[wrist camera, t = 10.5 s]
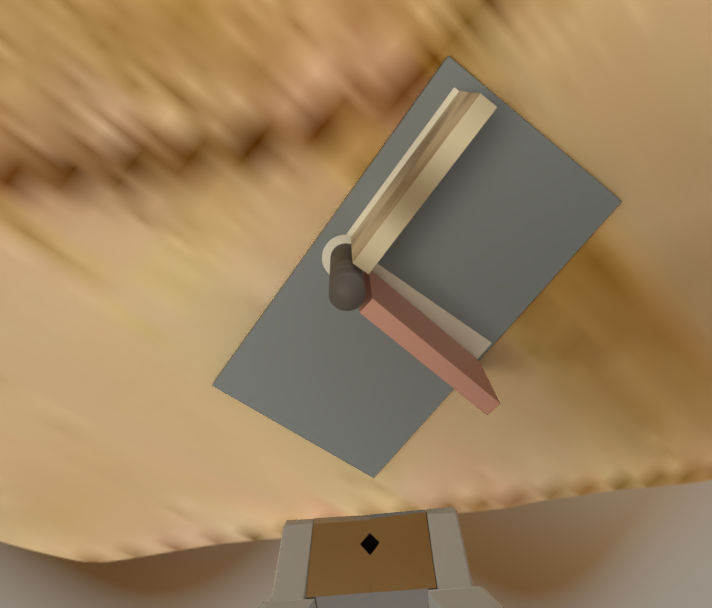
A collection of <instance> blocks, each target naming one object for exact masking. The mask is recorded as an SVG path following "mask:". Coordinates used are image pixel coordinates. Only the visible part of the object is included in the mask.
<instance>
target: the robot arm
mask: <svg viewBox="0 0 712 608" xmlns="http://www.w3.org/2000/svg"><path fill="white" fill-rule="evenodd" d="M258 608H504V607H502V606H501V605H500V604H499V603H498V602H497V601H496V600H495V599H494V598H493V597H492V596H491V595H490V594H489V593H488V592H487V591H486V590H485V589H484V588H483V587H482V586H480V587H473V584H472V580H471V575H470V571H469V566H468V561H467V557H466V552H465V547H464V543H463V538H462V534H461V530H460V525H459V520H458V516H457V511H456V509H455V508H454V507H447V508H437V509H426V512H425V510H417V511H406V512H395V513H384V514H373V515H364V516H346V517H328V518H315V519H304V520H287V521H286V523H285V525H284V527H283V532H282V538H281V544H280V551H279V556H278V563H277V568H276V574H275V581H274V586H273V592H272V598H271V602H263V603H261V605H260V606H259V607H258Z"/></svg>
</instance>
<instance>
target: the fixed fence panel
mask: <svg viewBox="0 0 712 608" xmlns="http://www.w3.org/2000/svg"><path fill="white" fill-rule="evenodd" d="M496 108H497V107H496V106H495V105H494V104H493V103H492V102H490V101H489V100H488V99H487V98H486V97H484V96H483V95H482V94H481V93H473V92H464V91H458V93H457V94H456V95H455V97H454V98H453V99H452V101H451V102H450V103H449V105H448V106H447V108H446V109H445V110H444V112H443V113H442V114H441V116H440V117H439V118H438V120H437V121H436V122H435V124H434V125H433V126H432V128H431V129H430V131H429V132H428V133H427V135H426V136H425V137H424V139H423V140H422V141H421V143H420V144H419V145H418V147H417V148H416V149H415V151H414V152H413V154H412V155H411V156H410V158H409V159H408V160H407V162H406V163H405V164H404V166H403V167H402V168H401V170H400V171H399V172H398V174H397V175H396V177H395V178H394V179H393V181H392V182H391V183H390V185H389V186H388V187H387V189H386V190H385V191H384V193H383V194H382V195H381V197H380V198H379V200H378V201H377V202H376V204H375V205H374V206H373V208H372V209H371V210H370V212H369V213H368V214H367V216H366V217H365V219H364V220H363V221H362V223H361V224H360V225H359V227H358V228H357V229H356V231H355V232H354V233H353V235H352V236H351V244H348V243H344V244H340V245H338V246H336V247H335V248H334V249H333V251H332V253H331V256H330V276H329V299H330V302H331V303H332V305H333V306H334V307H336V308H337V309H339V310H342V311H352V310H355V309H357V308H358V307H359V306H361V304H362V303H363V301H364V299H365V286H364V278H363V271H365V272H366V273H367V274H369V273H370V272H371V271H372V269H373V268H374V267H375V265H376V264H377V263H378V262H379V260H380V259H381V258H382V256H383V255H384V254H385V252H386V251H387V250H388V249H389V247H390V246H391V245H392V243H393V242H394V241H395V239H396V238H397V237H398V236H399V234H400V233H401V232H402V230H403V229H404V228H405V226H406V225H407V224H408V223H409V221H410V220H411V219H412V217H413V216H414V215H415V213H416V212H417V211H418V210H419V208H420V207H421V206H422V204H423V203H424V202H425V201H426V199H427V198H428V197H429V195H430V194H431V193H432V191H433V190H434V189H435V188H436V186H437V185H438V184H439V182H440V181H441V180H442V178H443V177H444V176H445V175H446V173H447V172H448V171H449V169H450V168H451V167H452V165H453V164H454V163H455V162H456V160H457V159H458V158H459V156H460V155H461V154H462V152H463V151H464V150H465V149H466V147H467V146H468V145H469V143H470V142H471V141H472V139H473V138H474V137H475V136H476V134H477V133H478V132H479V130H480V129H481V128H482V126H483V125H484V124H485V123H486V121H487V120H488V119H489V117H490V116H491V115H492V113H493V112H494V111H495V110H496Z"/></svg>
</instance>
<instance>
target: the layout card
mask: <svg viewBox="0 0 712 608" xmlns="http://www.w3.org/2000/svg"><path fill="white" fill-rule="evenodd" d="M458 91H464V92H473V93H481V94H482V95H483V96H484V97H486V98H487V99H488V100H489V101H490V102H492V103H493V104H494V105H495V106H496V107H497V108H496V110H495V111H494V112H493V113H492V115H491V116H490V117H489V119H488V120H487V121H486V123H485V124H484V125H483V126H482V128H481V129H480V130H479V132H478V133H477V134H476V136H475V137H474V138H473V139H472V141H471V142H470V143H469V145H468V146H467V147H466V149H465V150H464V151H463V152H462V154H461V155H460V156H459V158H458V159H457V160H456V162H455V163H454V164H453V165H452V167H451V168H450V169H449V171H448V172H447V173H446V175H445V176H444V177H443V178H442V180H441V181H440V182H439V184H438V185H437V186H436V188H435V189H434V190H433V191H432V193H431V194H430V195H429V197H428V198H427V199H426V201H425V202H424V203H423V204H422V206H421V207H420V208H419V210H418V211H417V212H416V213H415V215H414V216H413V217H412V219H411V220H410V221H409V223H408V224H407V225H406V226H405V228H404V229H403V230H402V232H401V233H400V234H399V236H398V237H397V238H396V239H395V241H394V242H393V243H392V245H391V246H390V247H389V249H388V250H387V251H386V252H385V254H384V255H383V256H382V258H381V259H380V260H379V262H378V263H377V264H376V265H375V267H374V268H373V269H372V271H373V272H374V273H375V274H376V275H378V276H379V277H380V278H381V279H382V280H384V281H385V282H386V283H387V284H388V285H389V286H391V287H392V288H393V289H394V290H395V291H397V292H398V293H399V294H400V295H401V296H403V297H404V298H405V299H406V300H407V301H409V302H410V303H411V304H412V305H413V306H414V307H416V308H417V309H418V310H419V311H420V312H422V313H423V314H424V315H425V316H426V317H428V318H429V319H430V320H431V321H432V322H434V323H435V324H436V325H437V326H438V327H439V328H441V329H442V330H443V331H444V332H445V333H447V334H448V335H449V336H450V337H451V338H453V339H454V340H455V341H456V342H457V343H458V344H460V345H461V346H462V347H463V348H464V349H466V350H467V351H468V352H469V353H470V354H472V355H473V356H474V357H475V358H476V359H478V360H480V359H481V358H482V357H483V356H484V354H485V353H486V352H487V351H488V350H489V349H490V348H491V347H492V346H493V344H494V343H495V342H496V341H497V340H498V339H499V338H500V337H501V335H502V334H503V333H504V332H505V331H506V330H507V329H508V328H509V327H510V325H511V324H512V323H513V322H514V321H515V320H516V319H517V318H518V317H519V315H520V314H521V313H522V312H523V311H524V310H525V309H526V308H527V306H528V305H529V304H530V303H531V302H532V301H533V300H534V299H535V298H536V296H537V295H538V294H539V293H540V292H541V291H542V290H543V289H544V288H545V286H546V285H547V284H548V283H549V282H550V281H551V280H552V279H553V278H554V276H555V275H556V274H557V273H558V272H559V271H560V270H561V269H562V267H563V266H564V265H565V264H566V263H567V262H568V261H569V260H570V259H571V257H572V256H573V255H574V254H575V253H576V252H577V251H578V250H579V249H580V247H581V246H582V245H583V244H584V243H585V242H586V241H587V240H588V238H589V237H590V236H591V235H592V234H593V233H594V232H595V231H596V230H597V228H598V227H599V226H600V225H601V224H602V223H603V222H604V221H605V220H606V218H607V217H608V216H609V215H610V214H611V213H612V212H613V211H614V209H615V208H616V207H617V206H618V205H619V204H620V203H621V202H622V201H621V200H620V199H619V198H617V197H616V196H615V195H614V194H613V193H612V192H610V191H609V190H608V189H607V188H606V187H604V186H603V185H602V184H601V183H600V182H598V181H597V180H596V179H595V178H594V177H592V176H591V175H590V174H589V173H588V172H586V171H585V170H584V169H583V168H582V167H580V166H579V165H578V164H577V163H576V162H575V161H573V160H572V159H571V158H570V157H569V156H567V155H566V154H565V153H564V152H563V151H561V150H560V149H559V148H558V147H557V146H555V145H554V144H553V143H552V142H551V141H549V140H548V139H547V138H546V137H545V136H543V135H542V134H541V133H540V132H539V131H538V130H536V129H535V128H534V127H533V126H532V125H530V124H529V123H528V122H527V121H526V120H524V119H523V118H522V117H521V116H520V115H518V114H517V113H516V112H515V111H514V110H512V109H511V108H510V107H509V106H508V105H506V104H505V103H504V102H503V101H502V100H500V99H499V98H498V97H497V96H496V95H495V94H493V93H492V92H491V91H490V90H489V89H487V88H486V87H485V86H484V85H483V84H481V83H480V82H479V81H478V80H477V79H475V78H474V77H473V76H472V75H471V74H469V73H468V72H467V71H466V70H465V69H463V68H462V67H461V66H460V65H459V64H458V63H456V62H455V61H454V60H453V59H452V58H450V57H449V56H447V57H446V58H445V60H444V61H443V63H442V64H441V65H440V67H439V68H438V70H437V71H436V72H435V74H434V75H433V77H432V78H431V79H430V81H429V82H428V83H427V85H426V86H425V88H424V89H423V90H422V92H421V93H420V95H419V96H418V97H417V99H416V100H415V102H414V103H413V104H412V106H411V107H410V109H409V110H408V111H407V113H406V114H405V116H404V117H403V118H402V120H401V121H400V123H399V124H398V125H397V127H396V128H395V130H394V131H393V132H392V134H391V135H390V136H389V138H388V139H387V141H386V142H385V143H384V145H383V146H382V148H381V149H380V150H379V152H378V153H377V155H376V156H375V157H374V159H373V160H372V162H371V163H370V164H369V166H368V167H367V169H366V170H365V171H364V173H363V174H362V176H361V177H360V178H359V180H358V181H357V183H356V184H355V185H354V187H353V188H352V190H351V191H350V192H349V194H348V195H347V196H346V198H345V199H344V201H343V202H342V203H341V205H340V206H339V208H338V209H337V210H336V212H335V213H334V215H333V216H332V217H331V219H330V220H329V222H328V223H327V224H326V226H325V227H324V229H323V230H322V231H321V233H320V234H319V236H318V237H317V238H316V240H315V241H314V243H313V244H312V245H311V247H310V248H309V249H308V251H307V252H306V254H305V255H304V256H303V258H302V259H301V261H300V262H299V263H298V265H297V266H296V268H295V269H294V270H293V272H292V273H291V275H290V276H289V277H288V279H287V280H286V282H285V283H284V284H283V286H282V287H281V289H280V290H279V291H278V293H277V294H276V296H275V297H274V298H273V300H272V301H271V303H270V304H269V305H268V307H267V308H266V309H265V311H264V312H263V314H262V315H261V316H260V318H259V319H258V321H257V322H256V323H255V325H254V326H253V328H252V329H251V330H250V332H249V333H248V335H247V336H246V337H245V339H244V340H243V342H242V343H241V344H240V346H239V347H238V349H237V350H236V351H235V353H234V354H233V356H232V357H231V358H230V360H229V361H228V362H227V364H226V365H225V367H224V368H223V369H222V371H221V372H220V374H219V375H218V376H217V378H216V379H215V381H214V382H213V385H212V386H214V387H216V388H217V389H219V390H221V391H223V392H224V393H226V394H228V395H230V396H231V397H233V398H235V399H237V400H238V401H240V402H242V403H244V404H245V405H247V406H249V407H251V408H252V409H254V410H256V411H258V412H259V413H261V414H263V415H265V416H266V417H268V418H270V419H272V420H273V421H275V422H277V423H279V424H280V425H282V426H284V427H286V428H287V429H289V430H291V431H293V432H294V433H296V434H298V435H299V436H301V437H303V438H305V439H306V440H308V441H310V442H312V443H313V444H315V445H317V446H319V447H320V448H322V449H324V450H326V451H327V452H329V453H331V454H333V455H334V456H336V457H338V458H340V459H341V460H343V461H345V462H347V463H348V464H350V465H352V466H354V467H355V468H357V469H359V470H361V471H362V472H364V473H366V474H368V475H369V476H371V477H373V478H374V477H375V476H376V475H377V474H378V473H379V472H380V470H381V469H382V468H383V467H384V466H385V465H386V464H387V463H388V461H389V460H390V459H391V458H392V457H393V456H394V455H395V454H396V453H397V451H398V450H399V449H400V448H401V447H402V446H403V445H404V444H405V443H406V441H407V440H408V439H409V438H410V437H411V436H412V435H413V434H414V432H415V431H416V430H417V429H418V428H419V427H420V426H421V425H422V424H423V422H424V421H425V420H426V419H427V418H428V417H429V416H430V415H431V414H432V412H433V411H434V410H435V409H436V408H437V407H438V406H439V405H440V404H441V402H442V401H443V400H444V399H445V398H446V397H447V396H448V395H449V393H450V392H451V391H452V390H453V389H454V388H453V387H451V386H450V385H449V384H448V383H446V382H445V381H444V380H443V379H441V378H440V377H439V376H438V375H436V374H435V373H434V372H433V371H431V370H430V369H429V368H428V367H427V366H425V365H424V364H423V363H422V362H420V361H419V360H418V359H417V358H415V357H414V356H413V355H412V354H410V353H409V352H408V351H407V350H405V349H404V348H403V347H402V346H400V345H399V344H398V343H397V342H396V341H394V340H393V339H392V338H391V337H389V336H388V335H387V334H386V333H384V332H383V331H382V330H381V329H379V328H378V327H377V326H376V325H374V324H373V323H372V322H371V321H369V320H368V319H367V318H366V317H365V316H363V315H362V314H361V313H360V312H359V307H358V308H357V309H355V310H352V311H342V310H339V309H337V308H336V307H334V306H333V305H332V303H331V302H330V299H329V276H330V256H331V253H332V251H333V249H334V248H335V247H336V246H338V245H340V244H344V243H348V244H351V236H352V235H353V233H354V232H355V231H356V229H357V228H358V227H359V225H360V224H361V223H362V221H363V220H364V219H365V217H366V216H367V214H368V213H369V212H370V210H371V209H372V208H373V206H374V205H375V204H376V202H377V201H378V200H379V198H380V197H381V195H382V194H383V193H384V191H385V190H386V189H387V187H388V186H389V185H390V183H391V182H392V181H393V179H394V178H395V177H396V175H397V174H398V172H399V171H400V170H401V168H402V167H403V166H404V164H405V163H406V162H407V160H408V159H409V158H410V156H411V155H412V154H413V152H414V151H415V149H416V148H417V147H418V145H419V144H420V143H421V141H422V140H423V139H424V137H425V136H426V135H427V133H428V132H429V131H430V129H431V128H432V126H433V125H434V124H435V122H436V121H437V120H438V118H439V117H440V116H441V114H442V113H443V112H444V110H445V109H446V108H447V106H448V105H449V103H450V102H451V101H452V99H453V98H454V97H455V95H456V94H457V93H458ZM363 272H364V271H363Z"/></svg>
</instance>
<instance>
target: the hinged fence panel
mask: <svg viewBox="0 0 712 608" xmlns="http://www.w3.org/2000/svg"><path fill="white" fill-rule="evenodd" d="M363 278H364V286H365V299H364V301H363V303H362V304H361V306H359V312H360V313H361V314H362V315H363V316H365V317H366V318H367V319H368V320H369V321H371V322H372V323H373V324H374V325H376V326H377V327H378V328H379V329H381V330H382V331H383V332H384V333H386V334H387V335H388V336H389V337H391V338H392V339H393V340H394V341H396V342H397V343H398V344H399V345H400V346H402V347H403V348H404V349H405V350H407V351H408V352H409V353H410V354H412V355H413V356H414V357H415V358H417V359H418V360H419V361H420V362H422V363H423V364H424V365H425V366H427V367H428V368H429V369H430V370H431V371H433V372H434V373H435V374H436V375H438V376H439V377H440V378H441V379H443V380H444V381H445V382H446V383H448V384H449V385H450V386H451V387H453V388H454V389H455V390H456V391H458V392H459V393H460V394H461V395H462V396H464V397H465V398H466V399H467V400H469V401H470V402H471V403H472V404H474V405H475V406H476V407H477V408H479V409H480V410H481V411H482V412H484V413H485V414H486V415H488V414H489V413H490V412H491V411H493V410H494V409H495V408H496V407H497V406H498V405H499V404H500V402H499V400H498V398H497V396H496V394H495V392H494V390H493V388H492V386H491V384H490V382H489V380H488V378H487V376H486V374H485V372H484V370H483V368H482V366H481V364H480V362H479V360H478V359H476V358H475V357H474V356H473V355H472V354H470V353H469V352H468V351H467V350H466V349H464V348H463V347H462V346H461V345H460V344H458V343H457V342H456V341H455V340H454V339H453V338H451V337H450V336H449V335H448V334H447V333H445V332H444V331H443V330H442V329H441V328H439V327H438V326H437V325H436V324H435V323H434V322H432V321H431V320H430V319H429V318H428V317H426V316H425V315H424V314H423V313H422V312H420V311H419V310H418V309H417V308H416V307H414V306H413V305H412V304H411V303H410V302H409V301H407V300H406V299H405V298H404V297H403V296H401V295H400V294H399V293H398V292H397V291H395V290H394V289H393V288H392V287H391V286H389V285H388V284H387V283H386V282H385V281H384V280H382V279H381V278H380V277H379V276H378V275H376V274H375V273H374V272H373V271H371V272H370V273H369V274H367V273H366V272H365V271H364V272H363Z"/></svg>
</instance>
